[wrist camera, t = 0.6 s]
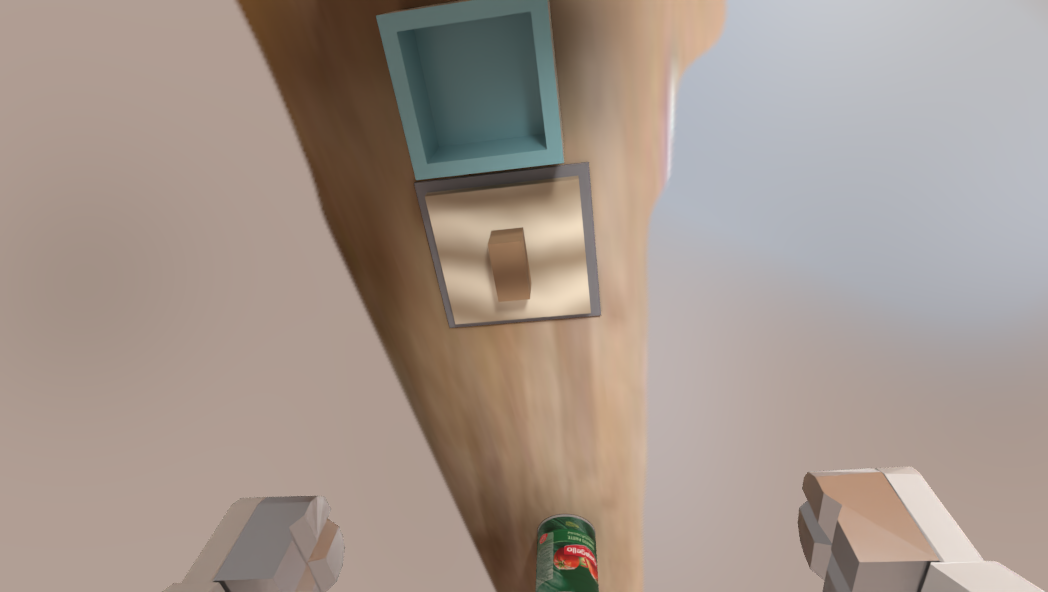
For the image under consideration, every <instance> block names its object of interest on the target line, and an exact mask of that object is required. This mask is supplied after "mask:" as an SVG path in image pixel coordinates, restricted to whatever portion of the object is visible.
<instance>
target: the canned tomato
mask: <svg viewBox="0 0 1048 592" xmlns="http://www.w3.org/2000/svg"><path fill="white" fill-rule="evenodd" d="M536 565H537V569H536V592H599V589H598V572H597V555H596V541H595V529H594V527H593V525H592V524H591V523H590V522H589V521H587V520H586V519H584V518H582V517H579V516H576V515H571V514H559V515H554V516H551V517H549V518H547V519H545V520H544V521H543V522H542V523H541V524H540V525H539V527H538V541H537V564H536Z"/></svg>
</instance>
